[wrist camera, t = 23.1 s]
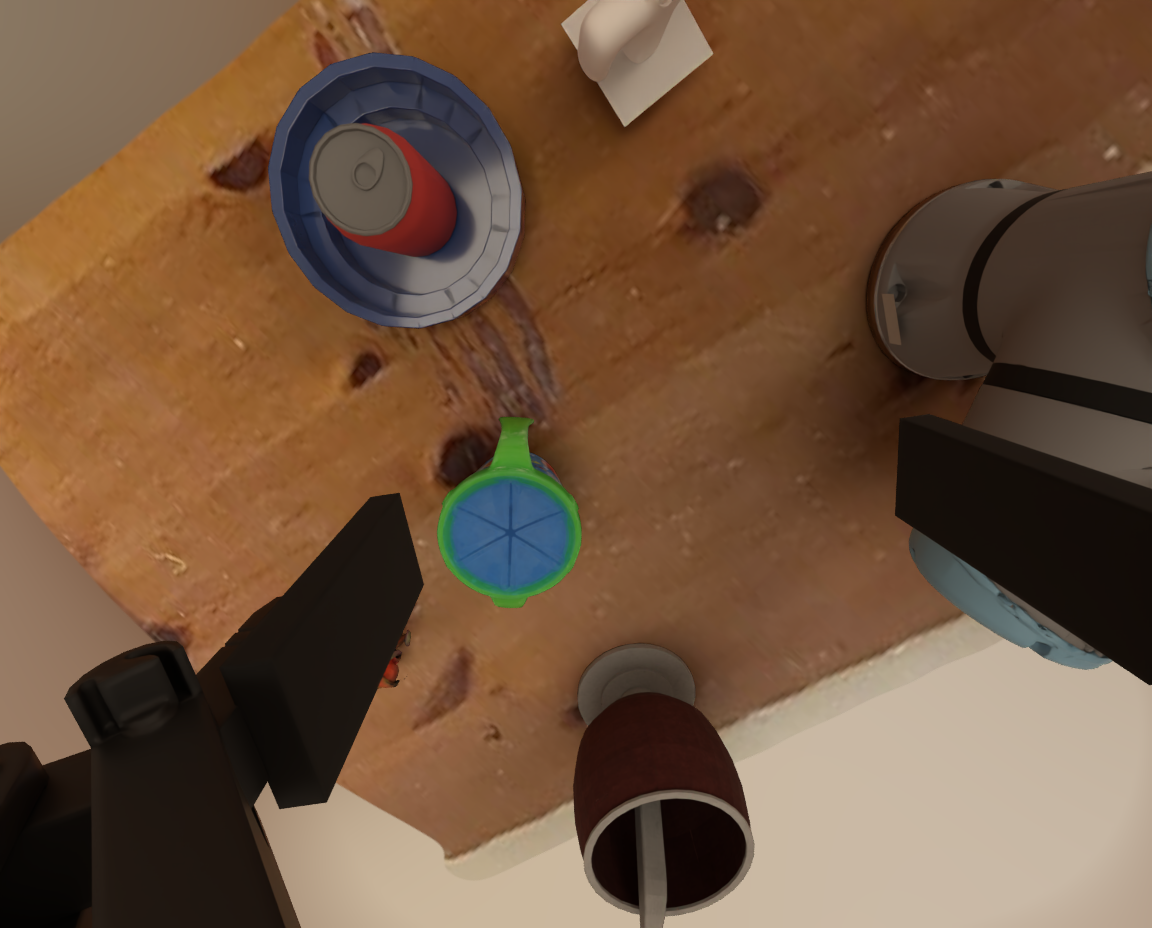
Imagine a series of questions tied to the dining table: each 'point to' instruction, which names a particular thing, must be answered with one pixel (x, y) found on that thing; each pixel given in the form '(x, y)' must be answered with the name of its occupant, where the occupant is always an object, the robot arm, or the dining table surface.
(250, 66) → the dining table surface
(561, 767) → the dining table surface
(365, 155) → the beer can
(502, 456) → the snack cup
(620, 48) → the figurine
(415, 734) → the dining table surface
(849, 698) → the dining table surface
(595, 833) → the mate gourd
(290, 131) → the bowl
